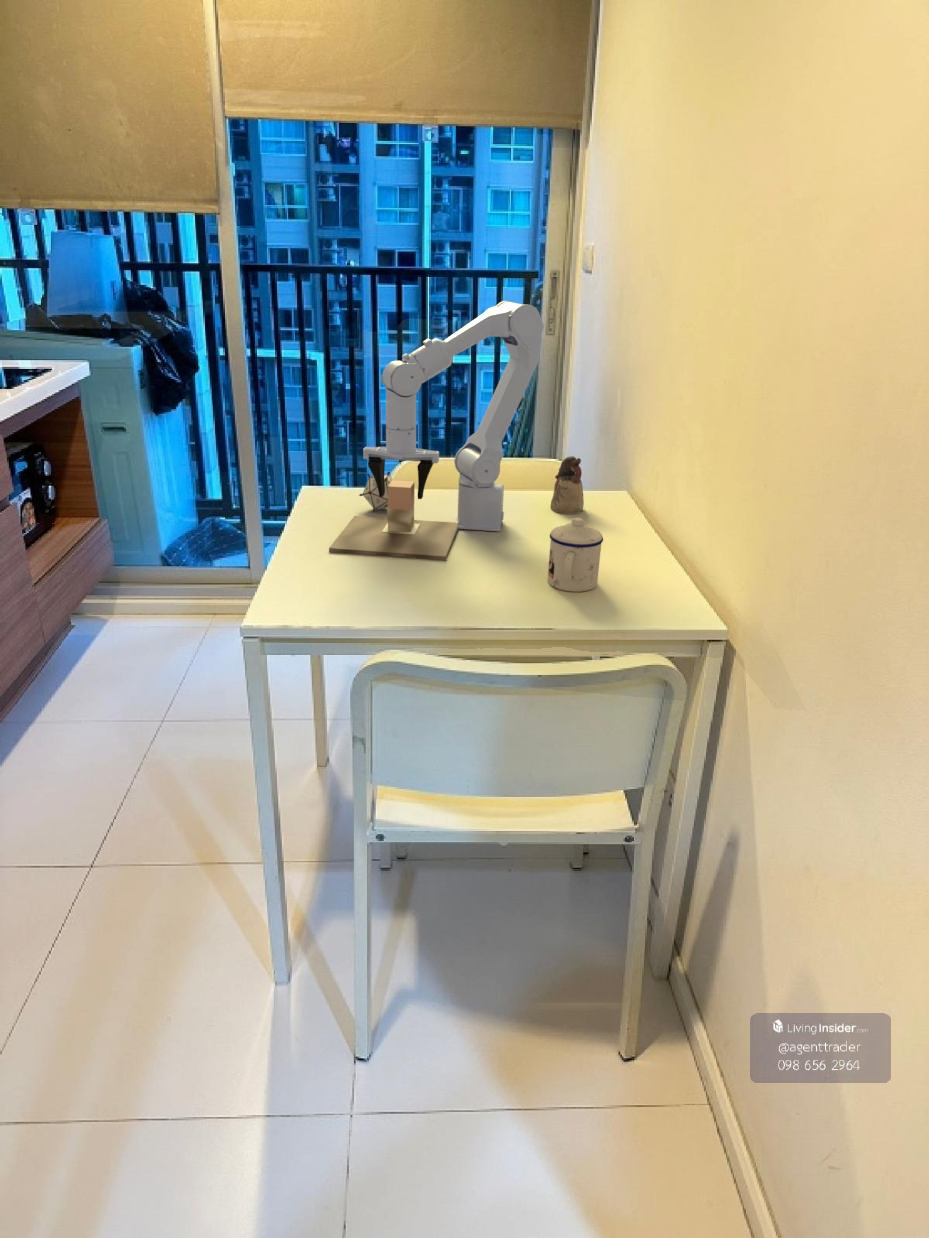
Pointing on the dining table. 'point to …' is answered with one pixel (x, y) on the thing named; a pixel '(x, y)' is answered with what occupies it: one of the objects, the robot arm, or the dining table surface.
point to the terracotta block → (401, 495)
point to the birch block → (400, 520)
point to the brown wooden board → (396, 539)
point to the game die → (376, 492)
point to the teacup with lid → (574, 556)
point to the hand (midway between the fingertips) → (401, 496)
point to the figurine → (568, 488)
